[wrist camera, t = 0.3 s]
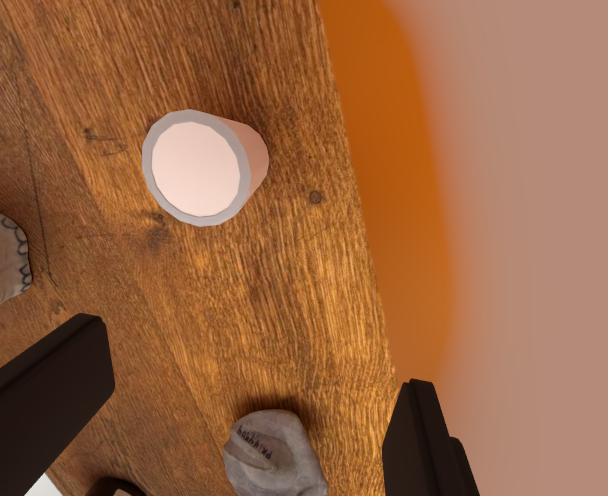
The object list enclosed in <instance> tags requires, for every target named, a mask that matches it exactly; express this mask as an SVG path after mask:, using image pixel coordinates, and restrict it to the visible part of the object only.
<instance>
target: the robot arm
mask: <svg viewBox="0 0 608 496" xmlns="http://www.w3.org/2000/svg"><path fill="white" fill-rule="evenodd" d="M114 389H115V380H114V373H113V367H112V361H111V354H110V348H109V342H108V336H107V329H106V325H105V323H104V322H103V321H102V318H101V317H99V316H94V315H89V314H84V313H79V314H77V315H75V316H73V317H72V318H71V319H69V320H68V321H66V322H65V323H63V324H62V325H61V326H59V327H58V328H56V329H55V330H54V331H52V332H51V333H49V334H48V335H46V336H45V337H44V338H42V339H41V340H39V341H38V342H37V343H35V344H34V345H32V346H31V347H30V348H28V349H27V350H25V351H24V352H22V353H21V354H20V355H18V356H17V357H15V358H14V359H13V360H11V361H10V362H8V363H7V364H5V365H4V366H3V367H1V368H0V496H24V495H25V494H26V493H27V492H28V491H29V489H30V488H31V487H32V486H33V485H34V484H35V483H36V481H37V480H38V479H39V478H40V477H41V476H42V475H43V473H44V472H45V471H46V470H47V469H48V468H49V467H50V465H51V464H52V463H53V462H54V461H55V460H56V458H57V457H58V456H59V455H60V454H61V453H62V452H63V450H64V449H65V448H66V447H67V446H68V445H69V444H70V442H71V441H72V440H73V439H74V438H75V437H76V436H77V434H78V433H79V432H80V431H81V430H82V429H83V428H84V426H85V425H86V424H87V423H88V422H89V421H90V419H91V418H92V417H93V416H94V415H95V414H96V413H97V411H98V410H99V409H100V408H101V407H102V406H103V405H104V403H105V402H106V401H107V400H108V399H109V398H110V396H111V395H112V393H113V391H114ZM382 461H383V472H384V483H385V494H386V496H480V494H479V491H478V489H477V486H476V483H475V480H474V477H473V474H472V471H471V468H470V465H469V462H468V460H467V456H466V454H465V450H464V448H463V446H462V443H461V442H460V441H459V439H457V438H454V437H450V436H449V433H448V430H447V427H446V424H445V420H444V417H443V414H442V410H441V407H440V404H439V401H438V398H437V394H436V391H435V388H434V385H433V383H432V382H427V381H422V380H417V379H410V381H409V383H406V382H404V383H403V384H402V387H401V390H400V393H399V396H398V399H397V402H396V405H395V408H394V411H393V414H392V417H391V420H390V423H389V426H388V429H387V432H386V435H385V438H384V441H383V446H382Z"/></svg>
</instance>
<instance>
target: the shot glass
mask: <svg viewBox="0 0 608 496" xmlns="http://www.w3.org/2000/svg"><path fill="white" fill-rule="evenodd" d="M268 166H269V156H268V150H267V146H266V145H265V143H264V141H263V140H262V138H261V136H260V134H259V133H257V132H256V131H255V130H254V129H252V128H251V127H250V126H249V125H247V124H243V123H240V122H236V121H232V120H229V119H225V118H222V117H218V116H214V115H211V114H207V113H203V112H200V111H196V110H193V109H188V110H182V111H176V112H170V113H168V114H166V115H165V116H164V117H163V118H161V119H160V120H159V121H157V122H156V123H155V124H153V125H152V127H151V129H150V131H149V133H148V135H147V137H146V139H145V141H144V143H143V148H142V170H143V173H144V176H145V179H146V183H147V186H148V189H149V190H150V192H151V193H152V195H153V196H154V197H155V199H156V200H157V202H158V203H159V204H160V206H161V207H162V208H163V209H164V210H166V211H167V212H168V213H170V214H171V215H173V216H174V217H175V218H177V219H178V220H179V221H183V222H186V223H189V224H193V225H196V226H199V227H200V226H211V225H220V224H221V223H223V222H225V221H226V220H228V219H230V218H232V217H233V216H235V215H236V214H237V213H238V212H239V211H240V209H241V208H242V207H243V206H244V204H245V203H246V202H247V201H248V199H249V198H250V197H251V196H252V194H253V193H254V192H255V191H256V189H257V188H258V187H259V186H260V184H261V183H262V181H263V180H264V178H265V177H266V175H267V171H268Z"/></svg>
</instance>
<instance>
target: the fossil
mask: <svg viewBox="0 0 608 496" xmlns="http://www.w3.org/2000/svg"><path fill="white" fill-rule="evenodd" d="M223 460H224V464H225V469H226V474H227V477H228V479H229V481H230V482H231V484H232V485H233V487H234V489H235V492H236V493H237V494H238V495H239V496H326V495H327V493H328V491H329V490H328V481H327V480H326V478H325V477H324V474H323V471H322V468H321V465H320V462H319V459H318V456H317V453H316V451H315V450H314V448H313V447H312V445H311V443H310V441H309V439H308V436H307V435H306V432H305V430H304V427H303V425H302V423H301V421H300V419H299V418H298V416H297V415H295V414H294V413H293V412H290V411H287V410H282V409H271V410H260V411H256V412H252V413H250V414H248V415H247V416H245V417H243V418H241V419H239V420H238V421H236V422H235V423H234V424H233V425H232V426H231V435H230V438H229V440H228V442H227V443H226V444H225V445H224V448H223Z"/></svg>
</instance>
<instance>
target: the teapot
mask: <svg viewBox="0 0 608 496" xmlns="http://www.w3.org/2000/svg"><path fill="white" fill-rule="evenodd" d="M27 251H28V244H27V239H26V236H25V234H24V232H23V231H22V230H21V229H20V227H19V226H18V225H16V224H15V223H14V222H13V221H12V220H11V219H9V218H8V217H6V216H4V215H2V214H0V305H1V304H2V303H3V302H4V301H6V300H7V299H9V298H11V297H14V296H16V295H19V294H21V293H23V292H24V291H26V290H27V289H29V287H30V286H31V281H32V277H31V273H30V268H29V262H28V258H27Z"/></svg>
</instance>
